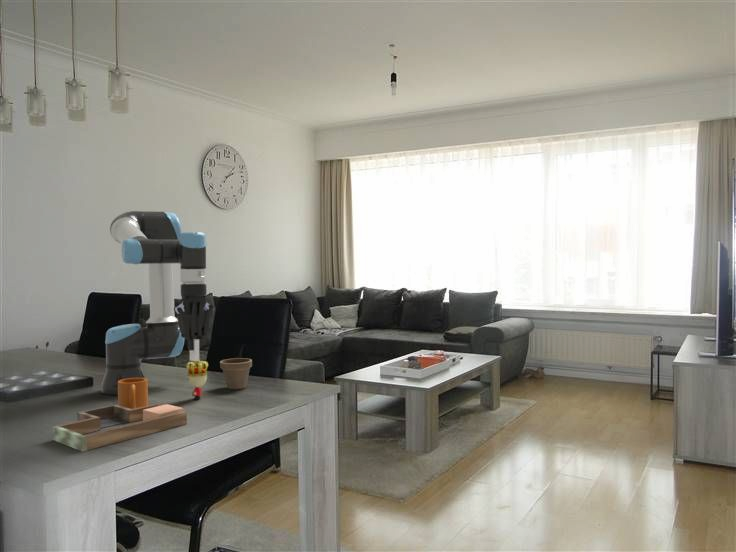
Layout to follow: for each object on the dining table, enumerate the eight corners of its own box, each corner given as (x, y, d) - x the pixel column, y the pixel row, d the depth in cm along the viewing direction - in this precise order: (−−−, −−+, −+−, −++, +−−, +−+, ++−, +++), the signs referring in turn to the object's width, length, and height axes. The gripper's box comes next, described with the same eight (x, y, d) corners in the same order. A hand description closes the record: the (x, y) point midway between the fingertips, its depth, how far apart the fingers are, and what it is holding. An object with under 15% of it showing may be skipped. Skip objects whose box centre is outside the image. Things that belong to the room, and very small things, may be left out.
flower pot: (213, 389, 214) (213, 361, 214) (232, 383, 224) (231, 357, 224) (240, 392, 210) (240, 364, 209) (258, 385, 220) (258, 358, 220)
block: (143, 423, 172) (142, 409, 172) (166, 417, 178) (166, 404, 178) (160, 428, 167) (159, 414, 167) (183, 421, 174) (183, 408, 174)
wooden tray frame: (37, 433, 161) (36, 420, 161) (139, 410, 185) (138, 399, 185) (82, 451, 146) (82, 437, 146) (186, 424, 170) (186, 411, 170)
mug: (111, 415, 180) (110, 385, 180) (122, 406, 192) (121, 378, 192) (142, 413, 181) (141, 384, 181) (151, 404, 193) (150, 376, 193)
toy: (189, 396, 203) (188, 353, 203) (210, 396, 204) (210, 352, 204) (184, 401, 196) (183, 356, 196) (206, 401, 197) (206, 356, 196)
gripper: (182, 284, 173) (183, 364, 173) (218, 282, 183) (219, 358, 184) (167, 283, 177) (168, 362, 178) (203, 282, 188) (204, 356, 188)
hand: (194, 360), depth 181 cm, fingers closed
